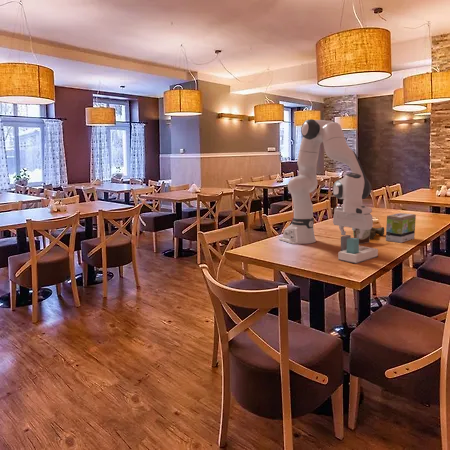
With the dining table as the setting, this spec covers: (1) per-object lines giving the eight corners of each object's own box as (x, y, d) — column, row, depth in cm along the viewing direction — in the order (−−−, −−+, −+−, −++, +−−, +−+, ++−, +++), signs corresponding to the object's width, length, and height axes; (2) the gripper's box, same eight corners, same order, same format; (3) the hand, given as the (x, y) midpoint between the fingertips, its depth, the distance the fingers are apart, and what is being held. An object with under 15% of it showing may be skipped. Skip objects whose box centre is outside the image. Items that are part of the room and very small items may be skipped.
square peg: (346, 259, 202) (346, 238, 200) (351, 257, 204) (351, 237, 202) (353, 260, 198) (353, 240, 197) (358, 259, 201) (358, 238, 199)
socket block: (338, 260, 202) (338, 252, 202) (360, 253, 213) (360, 245, 213) (355, 263, 195) (356, 255, 194) (377, 256, 205) (377, 248, 205)
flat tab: (340, 253, 215) (340, 236, 213) (347, 251, 218) (347, 234, 216) (343, 254, 213) (344, 237, 212) (350, 252, 216) (350, 235, 215)
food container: (363, 240, 243) (363, 223, 241) (371, 242, 238) (371, 224, 236) (347, 242, 238) (347, 225, 236) (354, 244, 232) (355, 227, 230)
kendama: (361, 239, 247) (370, 232, 263) (377, 241, 242) (386, 234, 258) (361, 229, 246) (370, 223, 262) (378, 231, 240) (386, 224, 257)
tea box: (402, 243, 231) (403, 217, 229) (385, 240, 239) (386, 215, 237) (415, 238, 241) (416, 213, 238) (398, 236, 248) (399, 212, 246)
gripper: (330, 206, 203) (329, 234, 206) (367, 211, 187) (365, 241, 190) (338, 205, 207) (337, 232, 209) (375, 209, 191) (373, 238, 193)
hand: (351, 236), depth 199 cm, fingers open, 8 cm apart
